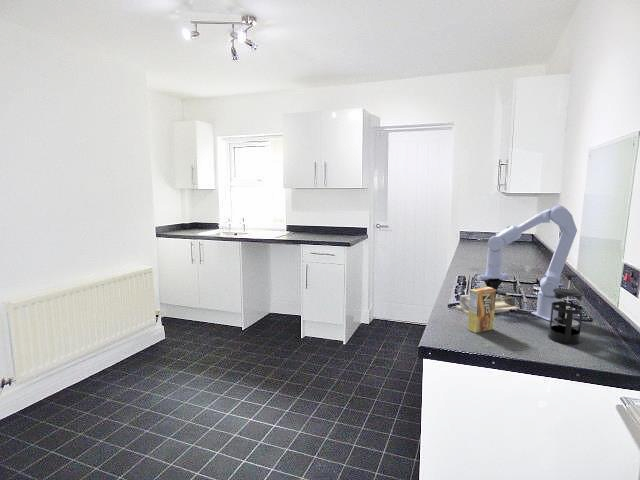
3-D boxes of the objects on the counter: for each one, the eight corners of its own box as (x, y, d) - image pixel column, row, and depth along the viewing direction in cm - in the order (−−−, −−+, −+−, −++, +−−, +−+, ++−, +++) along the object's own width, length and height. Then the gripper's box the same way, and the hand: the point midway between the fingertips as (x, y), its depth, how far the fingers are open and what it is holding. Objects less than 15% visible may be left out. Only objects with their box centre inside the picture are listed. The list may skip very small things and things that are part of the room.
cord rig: (519, 309, 168) (520, 296, 167) (470, 315, 161) (471, 301, 160) (502, 302, 177) (503, 289, 176) (455, 307, 171) (456, 294, 170)
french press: (584, 347, 131) (591, 279, 127) (551, 343, 134) (557, 276, 131) (574, 334, 142) (580, 271, 138) (544, 330, 145) (550, 269, 141)
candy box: (484, 325, 150) (487, 286, 148) (493, 329, 146) (496, 289, 144) (467, 329, 146) (469, 289, 144) (476, 333, 143) (478, 292, 140)
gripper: (501, 261, 173) (499, 292, 175) (472, 263, 169) (470, 294, 171) (513, 265, 166) (511, 296, 168) (483, 267, 162) (481, 299, 164)
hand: (491, 296), depth 169 cm, fingers closed
